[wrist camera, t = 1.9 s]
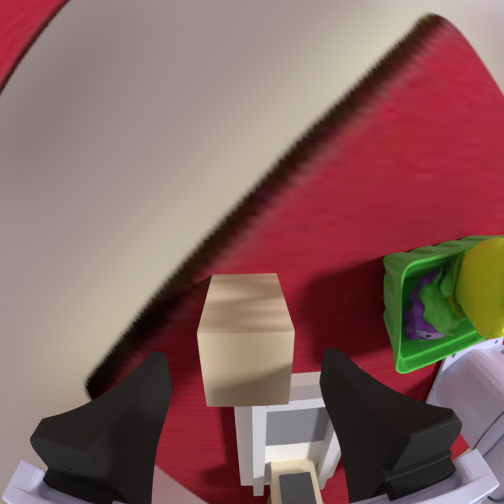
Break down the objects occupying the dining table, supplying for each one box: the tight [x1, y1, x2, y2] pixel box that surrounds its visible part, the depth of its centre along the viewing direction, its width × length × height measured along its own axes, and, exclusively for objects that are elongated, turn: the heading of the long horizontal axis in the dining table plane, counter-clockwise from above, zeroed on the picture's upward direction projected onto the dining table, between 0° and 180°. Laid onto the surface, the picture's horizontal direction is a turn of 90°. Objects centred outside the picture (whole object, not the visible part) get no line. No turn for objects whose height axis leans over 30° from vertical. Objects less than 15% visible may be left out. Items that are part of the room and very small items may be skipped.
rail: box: [234, 367, 361, 504], centre depth 19 cm, size 10×16×8 cm, turn 1°
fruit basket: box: [383, 235, 504, 373], centre depth 13 cm, size 11×9×11 cm
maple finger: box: [197, 273, 295, 407], centre depth 16 cm, size 4×5×7 cm
